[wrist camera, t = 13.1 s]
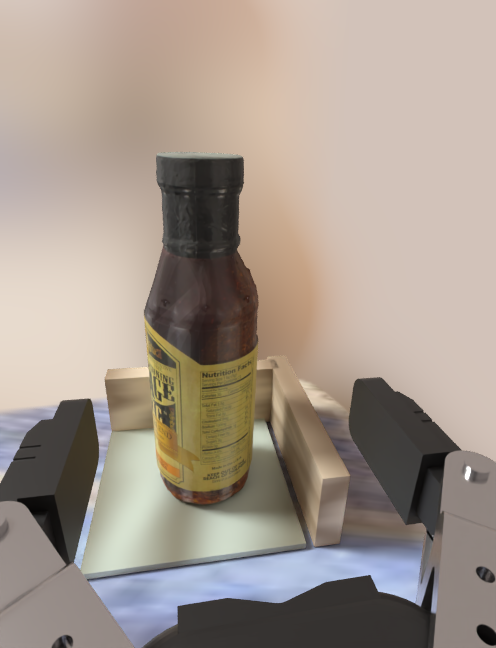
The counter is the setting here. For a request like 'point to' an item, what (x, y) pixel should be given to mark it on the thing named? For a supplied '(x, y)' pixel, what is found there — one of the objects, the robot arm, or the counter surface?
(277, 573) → the counter surface
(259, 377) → the beige l-shaped piece
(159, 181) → the sauce bottle
